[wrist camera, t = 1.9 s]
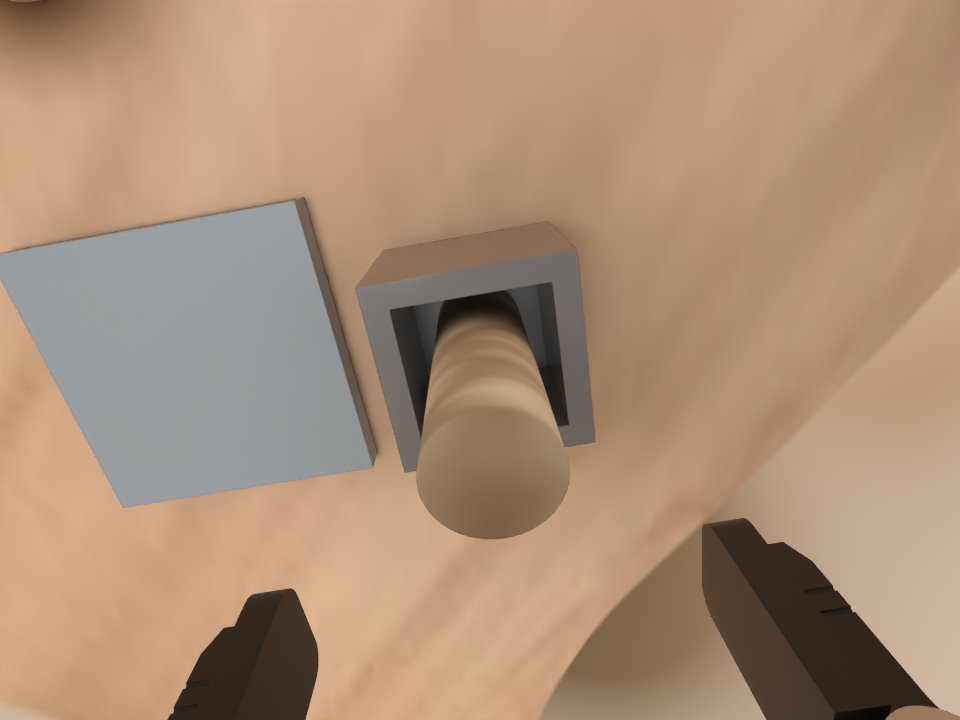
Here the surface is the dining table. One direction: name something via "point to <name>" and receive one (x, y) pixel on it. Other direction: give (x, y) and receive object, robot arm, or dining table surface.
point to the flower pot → (24, 0)
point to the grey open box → (465, 272)
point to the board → (197, 352)
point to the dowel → (488, 425)
